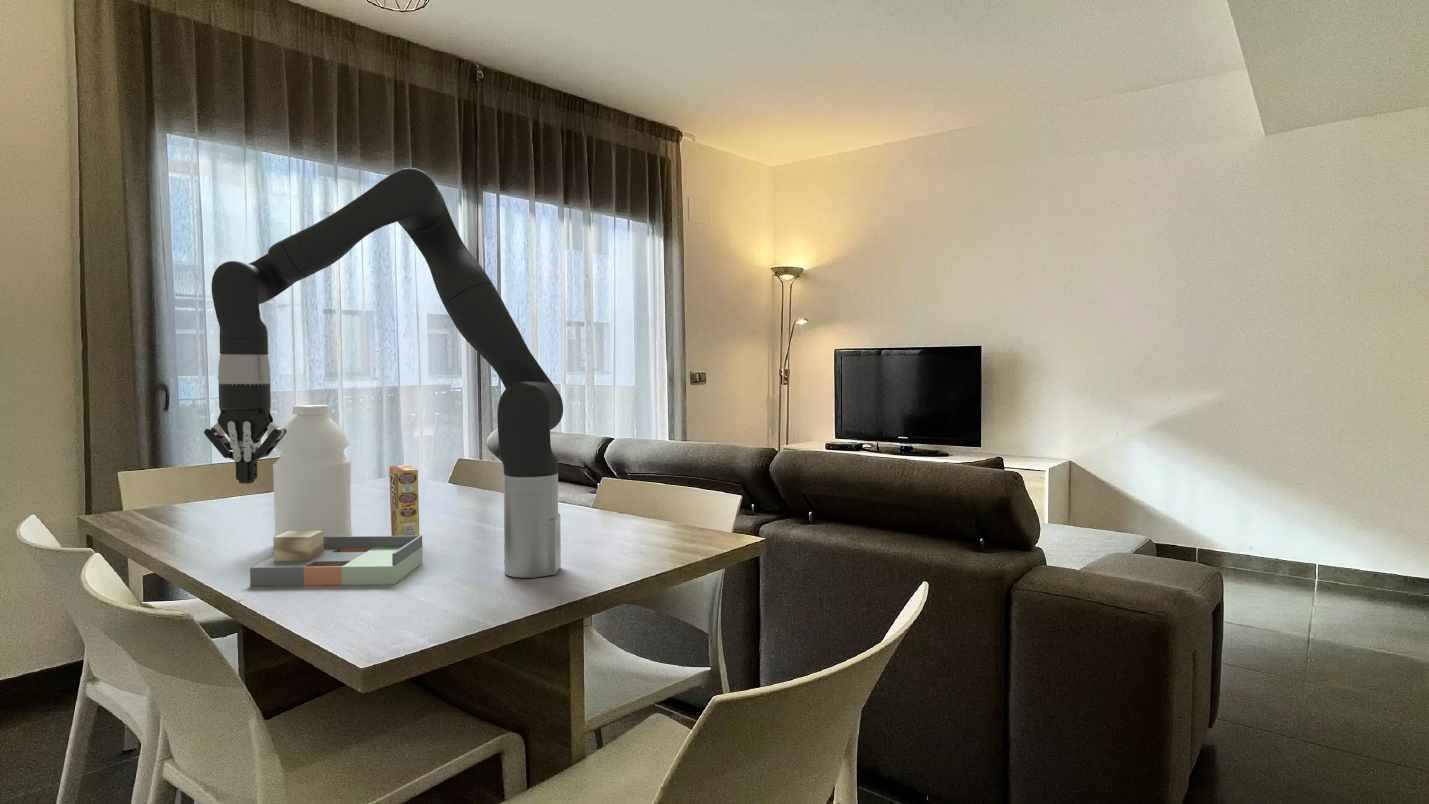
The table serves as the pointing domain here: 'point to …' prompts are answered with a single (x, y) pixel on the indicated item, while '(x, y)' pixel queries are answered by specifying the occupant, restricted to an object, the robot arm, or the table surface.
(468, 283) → the robot arm
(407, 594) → the table surface
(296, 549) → the birch block
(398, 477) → the candy box
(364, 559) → the box
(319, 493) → the bottle
